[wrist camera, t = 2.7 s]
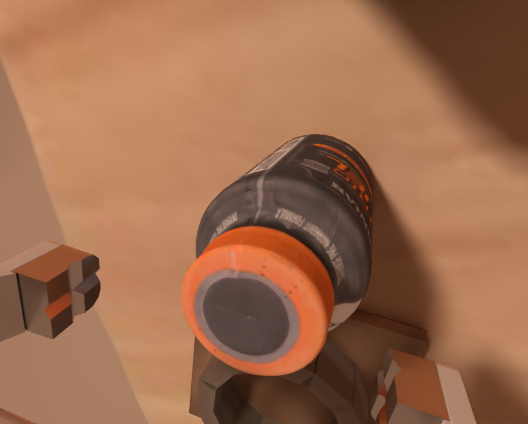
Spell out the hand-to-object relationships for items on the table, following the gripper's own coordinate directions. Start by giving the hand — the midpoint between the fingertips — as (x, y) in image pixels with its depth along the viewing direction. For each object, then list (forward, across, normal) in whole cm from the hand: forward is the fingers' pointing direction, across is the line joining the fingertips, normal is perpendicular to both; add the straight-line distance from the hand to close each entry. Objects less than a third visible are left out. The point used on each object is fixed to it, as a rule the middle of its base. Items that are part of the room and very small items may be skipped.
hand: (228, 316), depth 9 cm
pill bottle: (+11, -1, -1) cm, 11 cm away
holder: (+11, -2, +13) cm, 18 cm away
